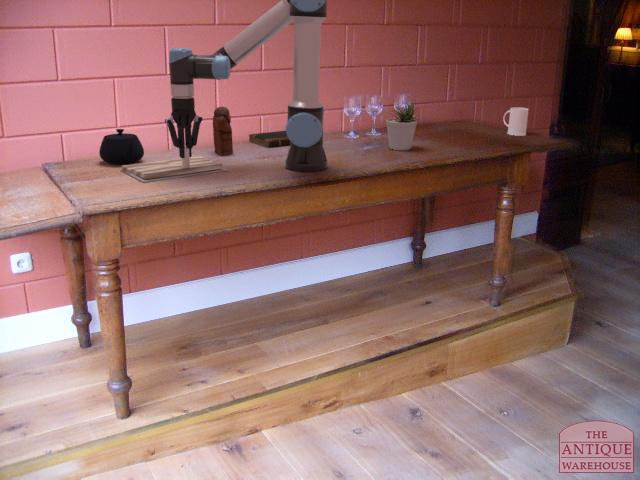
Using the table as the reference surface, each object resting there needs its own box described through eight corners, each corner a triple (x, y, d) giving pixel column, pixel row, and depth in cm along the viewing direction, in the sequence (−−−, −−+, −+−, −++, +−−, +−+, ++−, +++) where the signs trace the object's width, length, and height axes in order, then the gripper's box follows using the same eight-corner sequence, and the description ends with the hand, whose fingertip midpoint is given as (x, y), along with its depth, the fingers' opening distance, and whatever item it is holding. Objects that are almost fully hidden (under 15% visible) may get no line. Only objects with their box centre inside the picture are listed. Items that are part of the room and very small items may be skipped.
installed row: (209, 163, 240) (209, 159, 239) (129, 173, 223) (129, 169, 222) (200, 159, 245) (200, 155, 244) (122, 169, 228) (121, 165, 227)
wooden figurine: (236, 155, 255) (234, 108, 249) (220, 156, 253) (218, 109, 247) (227, 149, 265) (225, 104, 259) (211, 150, 263) (209, 105, 257)
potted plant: (402, 153, 263) (405, 102, 256) (378, 148, 273) (380, 99, 266) (423, 149, 270) (427, 100, 264) (399, 144, 280) (402, 96, 274)
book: (296, 137, 296) (247, 142, 283) (296, 129, 295) (247, 134, 281) (318, 143, 283) (268, 149, 269) (318, 135, 282) (268, 140, 268)
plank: (222, 168, 230) (222, 164, 230) (145, 179, 214) (145, 174, 214) (207, 163, 238) (207, 159, 238) (133, 173, 223) (132, 168, 222)
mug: (497, 133, 311) (500, 107, 307) (508, 131, 316) (510, 105, 312) (519, 136, 302) (522, 110, 298) (529, 134, 308) (532, 108, 304)
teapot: (92, 159, 246) (88, 126, 242) (132, 154, 254) (130, 122, 250) (112, 172, 226) (109, 136, 222) (156, 167, 234) (154, 132, 230)
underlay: (228, 170, 230) (228, 169, 230) (143, 183, 213) (143, 181, 212) (201, 160, 245) (201, 159, 245) (120, 171, 228) (120, 169, 228)
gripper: (195, 94, 224) (198, 162, 232) (159, 96, 217) (163, 167, 224) (205, 97, 218) (208, 166, 226) (169, 99, 211) (173, 171, 219)
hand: (186, 166), depth 225 cm, fingers closed
